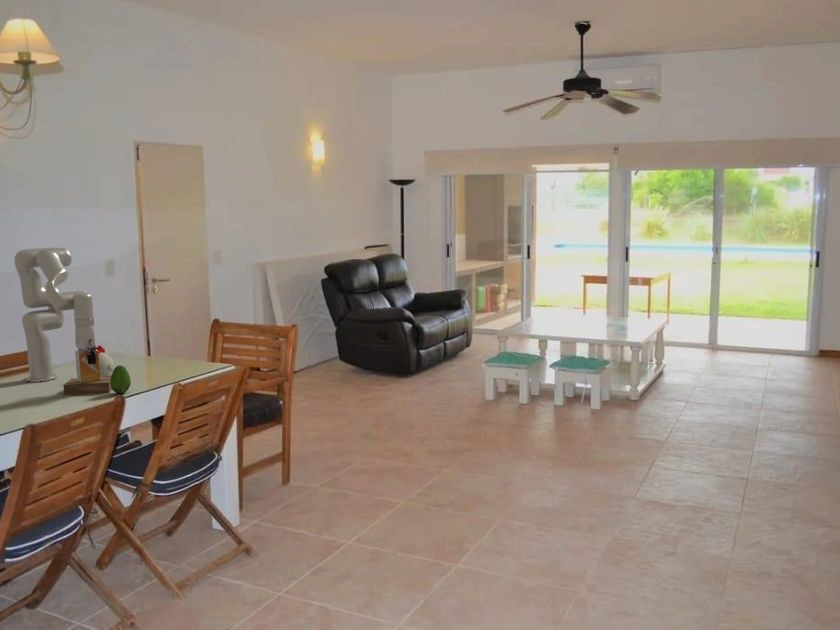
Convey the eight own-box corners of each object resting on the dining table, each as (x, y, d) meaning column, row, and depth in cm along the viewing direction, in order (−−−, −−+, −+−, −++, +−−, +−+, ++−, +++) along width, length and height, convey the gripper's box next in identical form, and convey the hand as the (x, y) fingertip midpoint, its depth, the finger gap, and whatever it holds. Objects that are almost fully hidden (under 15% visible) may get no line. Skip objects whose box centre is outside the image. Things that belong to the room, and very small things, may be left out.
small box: (81, 383, 333) (78, 352, 332) (77, 380, 338) (74, 350, 337) (101, 380, 338) (98, 350, 336) (97, 378, 343) (94, 348, 342)
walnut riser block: (72, 390, 344) (71, 378, 343) (115, 387, 346) (114, 376, 346) (64, 396, 332) (63, 385, 331) (109, 394, 335) (108, 382, 334)
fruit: (125, 395, 329) (122, 367, 327) (107, 395, 330) (105, 367, 328) (135, 391, 336) (132, 363, 335) (117, 390, 338) (115, 363, 336)
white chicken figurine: (79, 381, 358) (76, 348, 356) (95, 374, 372) (92, 343, 370) (108, 381, 357) (106, 348, 355) (123, 374, 370) (121, 343, 368)
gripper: (67, 321, 339) (70, 360, 341) (83, 325, 326) (86, 366, 329) (85, 319, 344) (88, 357, 346) (101, 323, 331) (104, 363, 334)
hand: (87, 362), depth 338 cm, fingers open, 9 cm apart
